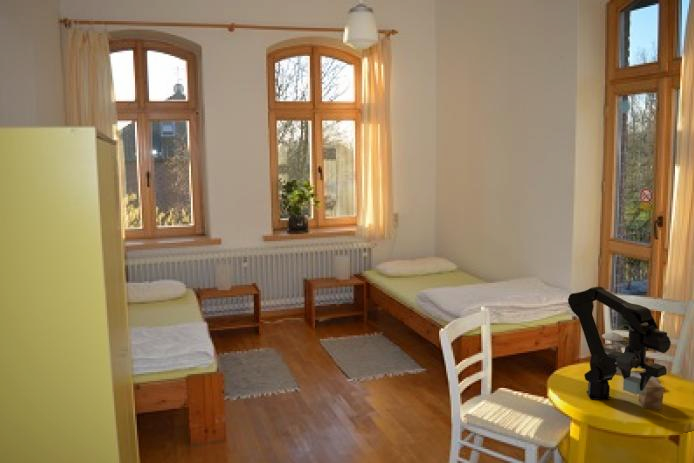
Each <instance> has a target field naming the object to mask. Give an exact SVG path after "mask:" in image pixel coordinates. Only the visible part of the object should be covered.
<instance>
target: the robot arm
mask: <svg viewBox="0 0 694 463" xmlns="http://www.w3.org/2000/svg"><path fill="white" fill-rule="evenodd" d="M595 301H597V302H599V303H601V304H603V305H605V306H607V307H608V308H610V309H612V310H615V311H616V312H617V314H619V315H621V318H622V319H623V320H624V321H625V322H627V324H625V325H623V326H622V328H623V329H626V330H628V339H627V345H625V348H624V351H623V352H622V353H621V352H618V351H615V352H612V353H609V354H608V355H607V354H606V353H605V350H604V347H603V345H604V343H603V342H602V339H601V337H600V333H599V330H598V326H597V324H596V321H595V318H594V316H593V311H594V306H595V305H594V302H595ZM567 303H568V305H569V307H570V309H571V312H572V313H573V314H575V315H576V316H577V318H578V319H579V323H580V326H581V329H582V332H583V336H584V337H585V338H584V339H585V341H586V343H587V347H588V350H589V353H590V360H589V368H590V369H589V371H587V372H585V373H584V374H583V375H584V380H585V381H587V382H588V384H587V390H586V394H587V395H588V398H589V399H590V400H601V401H602V400H604V401H610V398H609V397H610V390H611V388H610V387H611V386H610V384H609V381H612V380H613V378H614V377H615V376H616V375H617V374H616V372H617V370H616V367H618V368H619V369H620V370H621V372H622V373H621V375H622V377H623V379H624V378H627V377H630V374H631V371H632V369H637V368H638V369H642V370H643V372H642V373H639V374H640V376H641V382H640V390H641V391H642V390H643V389H644V388H645V386H646V384H647V383H648V381H649V379H650V378H651V377H655V378H658V379H659V378H661V377H663V376H666V375H667V370H668V369H667V367H666V366H665V365H664V364H663V365H662V364H659V363H656V362H654V363H652V364H648V363H647V362H648V360H649V359H648V358H646V356H647V352H648V351H649V350H652V351H656V352H657V353H661V354H665V353H667V352H668V351H669V350H670V348H671V345H672V344H671V343H672V341H671V339H670V337H669V336H668V332H667V331H662V330H659V327H658V326H659V325H657V323H656V321H655V319H654V318H653V315H652V311H651V310H650V309H649V308H648V307H647V306H643V305H641V304H637V303H636V304H635V303H631V302H628V301H626V300H624V299H623V298H621V297H619V296H618V295H616V294H613V293H612V292H610V291H608V290H606V289H605V288H604V287H603V286H600V285H598V286H594V287H593V286H592V287H590V288H588V289H586V290H583V291H579V292H573V293H572V292H571V293H570V294H569V296H568V298H567Z"/></svg>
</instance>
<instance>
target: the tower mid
mask: <svg viewBox="0 0 694 463" xmlns="http://www.w3.org/2000/svg"><path fill="white" fill-rule="evenodd" d="M664 390H665V387H664V385H662V384H659V383H658V382H657V381H656V380H651V381H648V383H647V384H646V388H645V392H643V393H641V394H642V395H643V396H644V397H645V398H663V399H664V394H665V393H664Z"/></svg>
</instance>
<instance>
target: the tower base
mask: <svg viewBox="0 0 694 463" xmlns="http://www.w3.org/2000/svg"><path fill="white" fill-rule="evenodd" d="M637 400H638V403H639V404H640V405H641V406H642V408H643V409H652V410H653V409H655V410H656V409H657V410H658V409H659V410H662V409H663V400H664V397H663V398H645V397H644V396H643V395H642V394H641V393H640V394H638V399H637Z"/></svg>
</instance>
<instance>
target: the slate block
mask: <svg viewBox="0 0 694 463" xmlns="http://www.w3.org/2000/svg"><path fill="white" fill-rule="evenodd" d="M640 382H641V379H640V378H638V377H635V376H630V377H627V378H623V385H622V386H623V387H622V390H623V391H625V392H628V393H631V394H633V395H635V396H637V395H639V394H640V393H643V392H645V388H646V386H645V388H644V389H643V390H642V391H641V390H640Z"/></svg>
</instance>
